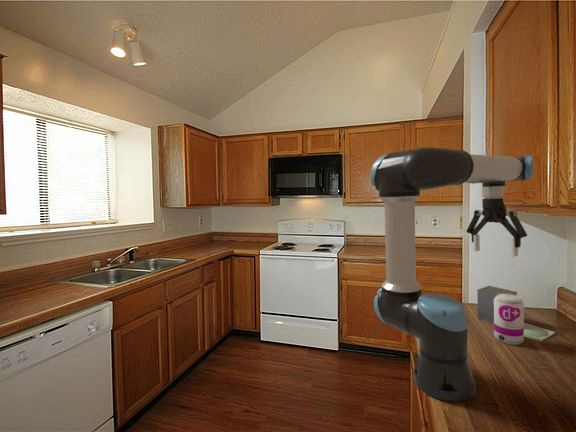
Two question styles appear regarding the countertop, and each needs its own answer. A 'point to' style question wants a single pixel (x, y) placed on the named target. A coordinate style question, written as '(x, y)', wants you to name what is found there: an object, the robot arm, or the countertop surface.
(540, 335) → the pad
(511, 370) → the countertop surface
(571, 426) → the countertop surface
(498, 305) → the supplement can
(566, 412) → the countertop surface
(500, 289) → the box
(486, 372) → the countertop surface
